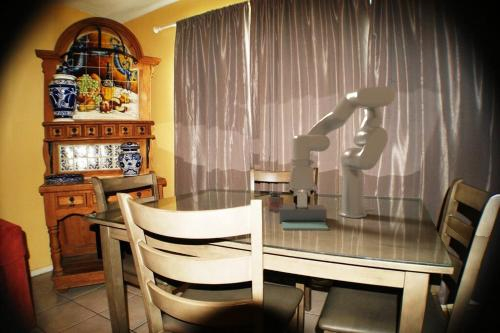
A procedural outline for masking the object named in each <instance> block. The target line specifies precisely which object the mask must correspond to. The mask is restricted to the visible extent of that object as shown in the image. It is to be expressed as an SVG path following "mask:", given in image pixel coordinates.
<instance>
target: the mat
mask: <svg viewBox="0 0 500 333" xmlns="http://www.w3.org/2000/svg"><path fill="white" fill-rule="evenodd" d="M281 227H282V230H284V231H286V230H287V231H329V227H328V225H327V223H325V222H282V223H281Z"/></svg>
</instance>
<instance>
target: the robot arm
mask: <svg viewBox="0 0 500 333" xmlns="http://www.w3.org/2000/svg"><path fill="white" fill-rule="evenodd" d="M395 98H396V94H395V91H394V89H393V88H392V87H390V86H387V85H385V86H371V87H370V86H369V87H368V86H367V87H360V88H355V89H352V90H348V91H347V92H346V93H344V95H342V96H341V98H340V99H339V100H338V102H337V103H336V104H335V106H334V107H332V109H331V110H330V112H329V113H327V114H326V115H325V116H323V117H322V118H321V119H320V120H319V121H318V122H316V123H315V124H314V125H313V126H312V127H311V129H309V131H308V132H307V133H306V134H305V135H304V134H298V135H294V136H293V138H292V166H291V167H290V170H289V171H290V173H289V174H290V175H289V182H288V184H287V186H285V190H286V191H288V192H289V193H290V194H291V195H292V196H293V203H294V205H297V195H296V193H298V190H306V194H307V205H310V203H311V195H313V194H314V192H316V191H318V190H319V187H318V185H317V184H316V183H315V181H314V172H313V166H311V165H315V161H314V160H312V159H311V155H312V154H311V152H318V153H319V152H320V153H321V152H325V151H326V150H328V149H329V147H330V145H331V140H330V138H329V137H328V136H327V135H328V134H329V133H331V132H333V131H335V130H338V129H340V128H341V127H344V125H346V123H347V122H348V121H349V119H350V118H351V117H352V116H353V114H354V113H355V112H356V111H357V110H358V109H362V110H363V111H362V112H363V117H362V119H361V122H360V124H359V126H358V128H357V129H356V132H355V133H354V136H353V144H354V145H355V146H356V147H348V148H346V149H344V150H343V152H342V153H341V155H340V164H341V169H342V170H341V172H342V189H341V190H342V191H341V193H342V194H341V196H342V198H341V209H339V210H338V215H339V216H342V217H345V218H349V219H350V218H351V219H353V218H354V219H362V218H366V217H367V216H368V213H367V212H375V207H374V206H372V207H371V206H366V205H364V200H365V199H364V198H365V197H364V195H365V194H364V193H365V191H364V190H365V174H364V171H369V170H372V169H373V168H375V167H376V166H377V164H378V162H379V161H380V159H381V156H382V154H383V153H384V150H385V148H386V147H387V144H388V142H389V140H388V139H389V136H388V135H389V134H388V132H387V130H386V129H385V128H384V127H381V125H382V123H383V115H382V112H381V109H380V108H382V107H388V106H390V105H392V103H393V102H394V101H395Z"/></svg>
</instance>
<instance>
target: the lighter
mask: <svg viewBox="0 0 500 333" xmlns="http://www.w3.org/2000/svg"><path fill="white" fill-rule="evenodd" d="M269 194H270V195H269V196H267V197H268V198H267V199H268V210H267V211H268V212H270V213H278V214H279V205H284V196H283V192H279V191H270V193H269Z"/></svg>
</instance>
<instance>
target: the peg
mask: <svg viewBox="0 0 500 333" xmlns="http://www.w3.org/2000/svg"><path fill="white" fill-rule="evenodd" d="M296 195H297V205H296V209H307V192H297V193H296Z"/></svg>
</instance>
